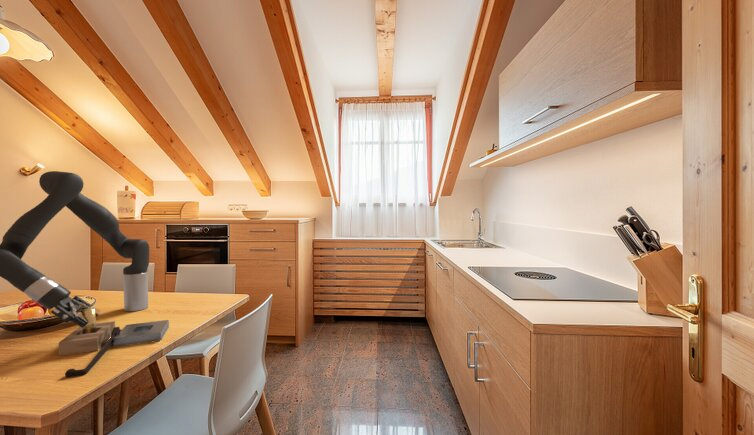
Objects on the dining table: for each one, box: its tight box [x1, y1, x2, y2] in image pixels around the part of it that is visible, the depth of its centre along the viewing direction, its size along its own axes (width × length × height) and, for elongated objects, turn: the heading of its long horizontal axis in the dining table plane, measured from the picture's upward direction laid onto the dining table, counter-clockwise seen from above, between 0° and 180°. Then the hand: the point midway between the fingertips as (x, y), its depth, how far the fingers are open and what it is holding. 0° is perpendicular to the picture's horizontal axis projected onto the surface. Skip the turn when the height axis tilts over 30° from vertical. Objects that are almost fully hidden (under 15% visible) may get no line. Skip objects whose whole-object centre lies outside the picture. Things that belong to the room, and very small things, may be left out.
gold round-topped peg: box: [81, 307, 97, 334], centre depth 115 cm, size 4×4×10 cm
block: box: [113, 319, 170, 348], centre depth 122 cm, size 14×14×3 cm
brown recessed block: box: [58, 320, 116, 357], centre depth 115 cm, size 17×10×4 cm, turn 23°
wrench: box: [64, 326, 122, 378], centre depth 107 cm, size 5×5×30 cm
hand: (91, 321), depth 115 cm, fingers open, 8 cm apart
